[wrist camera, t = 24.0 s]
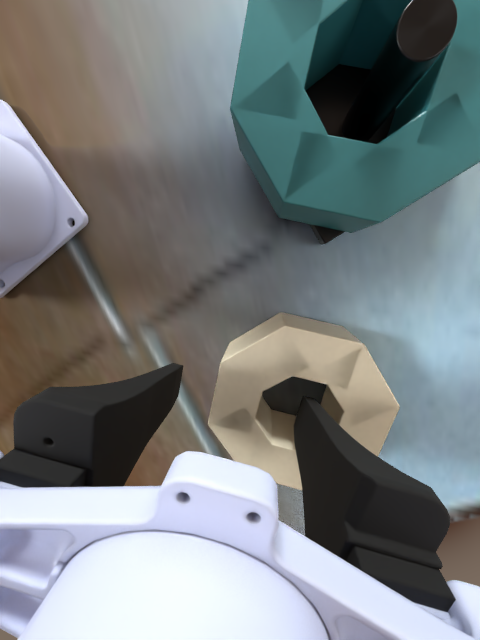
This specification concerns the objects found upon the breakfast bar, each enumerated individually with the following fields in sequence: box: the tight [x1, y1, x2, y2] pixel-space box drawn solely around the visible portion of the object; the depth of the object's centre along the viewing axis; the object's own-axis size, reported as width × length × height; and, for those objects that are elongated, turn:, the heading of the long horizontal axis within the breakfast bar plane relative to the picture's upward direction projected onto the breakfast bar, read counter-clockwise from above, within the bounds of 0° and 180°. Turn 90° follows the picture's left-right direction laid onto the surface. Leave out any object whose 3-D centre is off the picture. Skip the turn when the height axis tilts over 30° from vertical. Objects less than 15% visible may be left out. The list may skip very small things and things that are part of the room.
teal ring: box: [230, 0, 480, 233], centre depth 10 cm, size 10×10×3 cm
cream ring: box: [208, 312, 400, 490], centre depth 15 cm, size 10×10×3 cm
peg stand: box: [306, 0, 458, 245], centre depth 10 cm, size 8×8×6 cm
